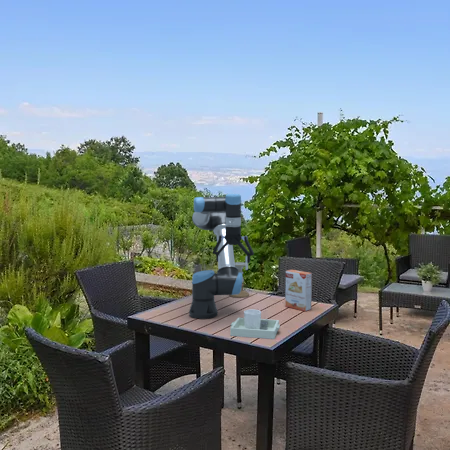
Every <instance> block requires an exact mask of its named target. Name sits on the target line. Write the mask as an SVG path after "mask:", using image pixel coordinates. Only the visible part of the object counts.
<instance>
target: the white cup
mask: <svg viewBox="0 0 450 450" xmlns="http://www.w3.org/2000/svg"><path fill="white" fill-rule="evenodd" d="M243 318H244V324H245V329H259V330H260V323H261V319H262V311H261V310H259V309H255V308H254V309H251V308H250V309H246V310H243Z"/></svg>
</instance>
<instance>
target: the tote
mask: <svg viewBox="0 0 450 450" xmlns="http://www.w3.org/2000/svg"><path fill="white" fill-rule="evenodd" d="M261 321H264V322H268V329H267V330H259V329H245V324H244V317H237V318H236V319H235V321H232V323H230V329H229V330H230V331H229V332H230V333H229V334H230V336H231V337H240V338H241V337H242V338H257V339H267V340H269V339H270V340H275V338H276V336H277V334H278V331H279V330H280V328H281V325H280V320H278V319H267V318H266V319H265V318H261Z"/></svg>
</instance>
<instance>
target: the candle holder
mask: <svg viewBox="0 0 450 450" xmlns="http://www.w3.org/2000/svg"><path fill="white" fill-rule="evenodd" d="M235 267H236V268H238V271H239V272H240V273H242V287H241V292H240V293H239V294H236V295H229V296H230V297H232V298H239V299H240V298H248V297H249V296H250V293H249V291H247V290H244V286H245V284H244V282H245V279H244V277H243V274H244V272H243V269H244V268H245V267H246V262H244V261H243V262H242V261H236V262H235Z"/></svg>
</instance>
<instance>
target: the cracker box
mask: <svg viewBox="0 0 450 450" xmlns="http://www.w3.org/2000/svg"><path fill="white" fill-rule="evenodd" d="M312 277H313V274H312V272H307V271H303V270H298V269H297V270H296V269H287V270H285V300H284V302H285V303H284V304H285V307H286V308H290V309H294V310H299V311H302V312H308V311H310V310H311V311H312V296H313V295H312V289H313V288H312V286H313V285H312V281H313V280H312Z"/></svg>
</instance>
